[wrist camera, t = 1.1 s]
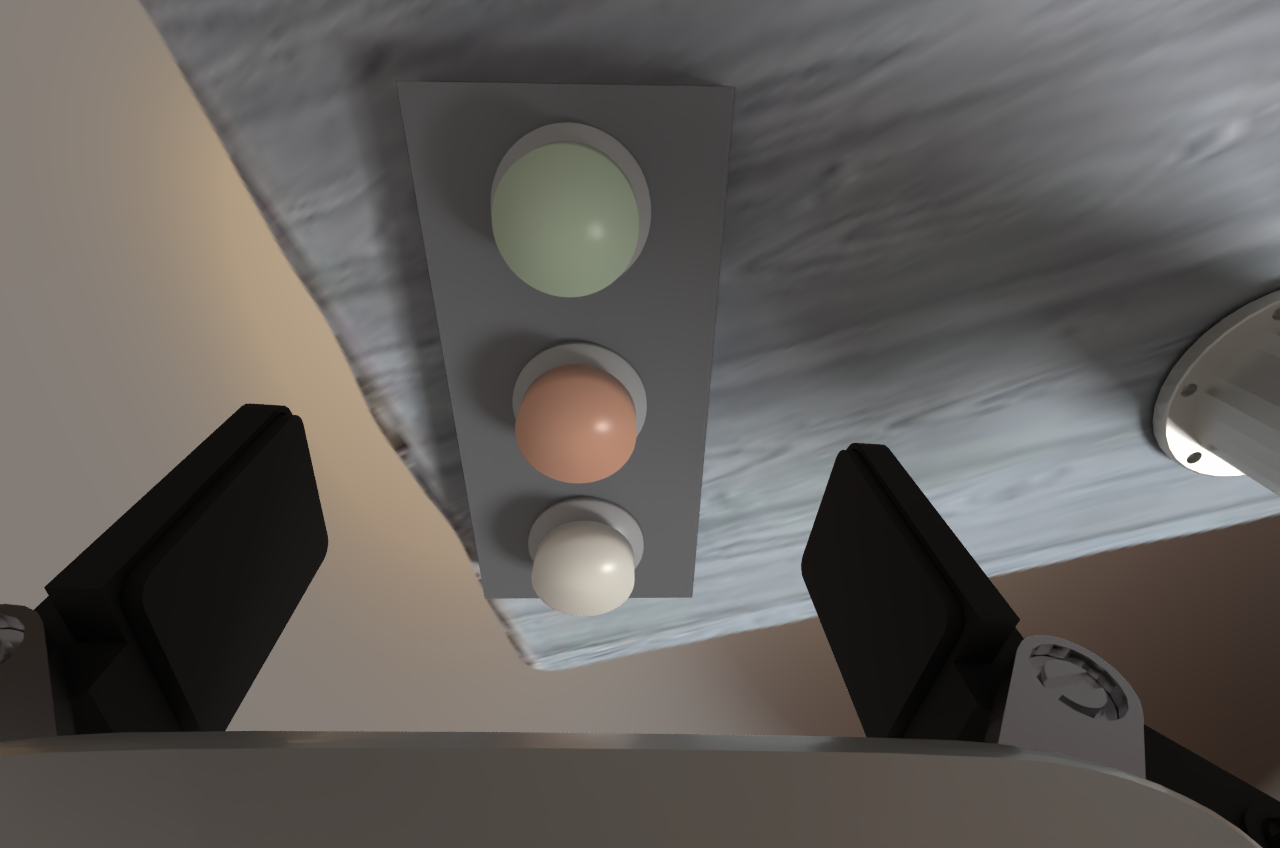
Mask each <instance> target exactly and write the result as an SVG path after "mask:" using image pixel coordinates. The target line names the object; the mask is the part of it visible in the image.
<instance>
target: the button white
mask: <svg viewBox="0 0 1280 848" xmlns="http://www.w3.org/2000/svg"><path fill="white" fill-rule="evenodd" d="M634 581H635V575H634V552H633V549H632V546H631V544H630V543H629V541H628V540H627V538H626V537H625V536H624V535H623V534H622V533H620V532H619V531H618V530H616V529H614V528H613V527H611V526H608V525H606V524H603V523H599V522H594V521H573V522H568V523H564V524H562V525H559V526H557V527H555V528H553V529H552V530H550V531H549V532H548V533H547V534H545V535H544V536H543V538H542V539H541V540H540V542H539V544H538V546H537V549H536V555H535V560H534V565H533V570H532V585H533V588H534V590H535V592H536V594H537V595H538V597H539V598H540V599H541V600H542V601H543V602H544V603H545V604H547V605H548V606H550V607H551V608H553V609H555V610H557V611H560V612H563V613H566V614H570V615H576V616H593V615H599V614H603V613H606V612H609V611H611V610H613V609H615V608H617V607H619V606H620V605H621V604H623V603H624V602H625V601H626V600H627V599H628V597H629V596H630V594H631V592H632V590H633V587H634Z"/></svg>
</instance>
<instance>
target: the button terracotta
mask: <svg viewBox="0 0 1280 848" xmlns="http://www.w3.org/2000/svg"><path fill="white" fill-rule="evenodd" d="M515 436H516V441H517V444H518V447H519V449H520V451H521V453H522V455H523V456H524V457H525V459H526V460H527V461H528V462H529V463H530V465H532V466H533V467H534V468H535V469H536V470H538V471H539V472H541V473H542V474H544V475H546V476H548V477H550V478H552V479H555V480H558V481H562V482H567V483H578V484H579V483H590V482H595V481H598V480H602V479H604V478H606V477H608V476H610V475H612V474H614V473H615V472H617V471H618V470H619V469H620V468H621V467H622V466H623V465H624V464H625V463H626V462H627V461H628V459H629V458H630V456H631V454H632V452H633V450H634V447H635V443H636V410H635V405H634V402H633V399H632V397H631V395H630V393H629V391H628V390H627V389H626V387H625V386H624V385H623V384H622V383H621V382H620V381H619V380H618V379H617V378H616V377H614V376H613V375H611V374H610V373H608V372H606V371H604V370H602V369H600V368H596V367H593V366H589V365H581V364H570V365H563V366H559V367H556V368H553V369H551V370H548V371H546V372H545V373H543V374H542V375H540V376H539V377H538V378H536V379H535V380H534V381H533V382H532V384H531V385H530V386H529V388H528V389H527V391H526V393H525V395H524V397H523V400H522V403H521V406H520V409H519V412H518V415H517V419H516V424H515Z"/></svg>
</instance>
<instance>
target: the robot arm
mask: <svg viewBox="0 0 1280 848" xmlns="http://www.w3.org/2000/svg"><path fill="white" fill-rule="evenodd" d="M1153 429H1154V436H1155V438H1156V440H1157V443H1158V445H1159V447H1160V448H1161V449H1162V450H1163V452H1164V453H1165V454H1166V455H1167V456H1168V457H1169V458H1171V459H1172V460H1174V461H1175V462H1176V463H1178V464H1179V465H1181V466H1182V467H1184V468H1186V469H1188V470H1191V471H1193V472H1195V473H1198V474H1203V475H1209V476H1238V475H1247V476H1248V477H1250V478H1252V479H1253V480H1255V481H1256V482H1258V483H1260V484H1261V485H1263V486H1264V487H1266V488H1267V489H1269V490H1271V491H1272V492H1274V493H1275V494H1277V495H1278V496H1280V290H1278V291H1275V292H1272V293H1270V294H1268V295H1266V296H1263V297H1261V298H1259V299H1257V300H1255V301H1253V302H1251V303H1248V304H1247V305H1245V306H1243V307H1242V308H1240V309H1238V310H1237V311H1235V312H1233V313H1232V314H1230V315H1229V316H1227V317H1225V318H1224V319H1222V320H1221V321H1220V322H1219V323H1217V324H1216V325H1215V326H1213V327H1212V328H1211V329H1210V330H1208V331H1207V332H1206V333H1204V334H1203V335H1202V336H1201V337H1200V338H1199V339H1198V340H1197V341H1196V342H1195V343H1194V344H1193V345H1192V346H1191V347H1190V348H1189V349H1188V350H1187V351H1186V352H1185V353H1184V355H1183V356H1182V357H1181V358H1180V360H1179V361H1178V362H1177V363H1176V365H1175V366H1174V367H1173V368H1172V370H1171V372H1170V373H1169V375H1168V377H1167V378H1166V380H1165V382H1164V384H1163V385H1162V387H1161V390H1160V392H1159V395H1158V398H1157V401H1156V403H1155V408H1154V414H1153ZM327 548H328V535H327V531H326V526H325V522H324V517H323V512H322V508H321V503H320V499H319V494H318V489H317V485H316V480H315V476H314V471H313V466H312V462H311V457H310V453H309V448H308V443H307V439H306V434H305V429H304V425H303V422H302V419H301V418H300V417H299V416H297V415H292V413H291V411H290V410H289V408H287V407H286V406H278V405H264V404H245V405H243V406H242V407H241V408H239V409H238V410H237V411H236V412H235V413H234V414H233V415H232V416H231V417H230V418H228V419H227V420H226V421H225V422H224V423H223V424H222V425H221V426H220V427H219V428H218V429H216V430H215V431H214V432H213V433H212V434H211V435H210V436H209V437H208V438H207V439H206V440H204V441H203V442H202V443H201V444H200V445H199V446H198V447H197V448H196V449H195V450H194V451H192V452H191V454H189V455H188V456H187V457H186V458H185V459H184V460H183V461H182V462H180V463H179V464H178V465H177V466H176V467H175V468H174V469H173V470H172V471H171V472H170V473H168V475H166V476H165V477H164V478H163V479H162V480H161V481H160V482H159V483H158V484H156V485H155V486H154V487H153V488H152V489H151V490H150V491H149V492H148V493H147V494H146V495H145V496H143V497H142V498H141V499H140V500H139V501H138V502H137V503H136V504H135V505H134V506H132V507H131V508H130V509H129V510H128V511H127V512H126V513H125V514H124V515H123V516H122V517H120V518H119V519H118V520H117V521H116V522H115V523H114V524H113V525H112V526H111V527H110V528H109V529H107V530H106V531H105V532H104V533H103V534H102V535H101V536H100V537H99V538H98V539H96V540H95V541H94V542H93V543H92V544H91V545H90V546H89V547H88V548H87V549H86V550H84V551H83V552H82V553H81V554H80V555H79V556H78V557H77V558H76V559H75V560H74V561H72V562H71V563H70V564H69V565H68V566H67V567H66V568H65V569H64V570H63V571H62V572H60V573H59V574H58V575H57V576H56V577H55V578H54V579H53V580H52V581H51V582H50V583H48V584H47V585H46V586H45V590H46V591H47V593H48V595H49V596H48V597H47V598H46V599H45V600H44V601H43V602H42V603H41V604H40V605H39V606H37V607H36V608H35V609H34V610H32V609H30V608H28V607H26V606H21V605H11V604H0V848H1280V802H1279V801H1277V800H1276V799H1274V798H1272V797H1270V796H1269V795H1267V794H1265V793H1263V792H1262V791H1260V790H1258V789H1256V788H1255V787H1253V786H1251V785H1249V784H1248V783H1246V782H1244V781H1242V780H1241V779H1239V778H1237V777H1235V776H1233V775H1232V774H1230V773H1228V772H1227V771H1225V770H1223V769H1221V768H1219V767H1218V766H1216V765H1214V764H1212V763H1211V762H1209V761H1207V760H1205V759H1204V758H1202V757H1200V756H1199V755H1197V754H1195V753H1193V752H1191V751H1190V750H1188V749H1186V748H1184V747H1183V746H1181V745H1179V744H1177V743H1176V742H1174V741H1172V740H1170V739H1169V738H1167V737H1165V736H1163V735H1162V734H1160V733H1158V732H1156V731H1155V730H1153V729H1151V728H1149V727H1148V726H1146V725H1144V724H1143V711H1142V708H1141V704H1140V700H1139V698H1138V697H1137V696H1136V694H1135V692H1134V691H1133V689H1132V687H1131V686H1130V684H1129V683H1128V682H1127V681H1126V680H1125V679H1124V678H1123V677H1122V676H1121V675H1120V674H1119V673H1118V672H1117V671H1116V670H1115V669H1114V668H1113V667H1112V666H1110V665H1109V664H1108V663H1106V662H1105V661H1104V660H1102V659H1101V658H1100V657H1099V656H1097V655H1095V654H1093V653H1092V652H1090V651H1088V650H1086V649H1085V648H1083V647H1081V646H1080V645H1077V644H1074V643H1072V642H1069V641H1067V640H1064V639H1062V638H1057V637H1052V636H1047V635H1037V636H1030V637H1028V638H1026V639H1024V638H1023V637H1022V636H1021V634H1020V633H1019V632H1018V630H1017V629H1016V627H1015V626H1016V625H1017V623H1018V622H1019V620H1020V619H1019V617H1018V616H1017V615H1016V613H1015V612H1014V611H1013V610H1012V608H1011V607H1010V606H1009V604H1008V603H1007V602H1006V600H1005V599H1004V598H1003V597H1002V595H1001V594H1000V593H999V591H998V590H997V589H996V588H995V586H994V585H993V584H992V582H991V581H990V580H989V578H988V577H987V576H986V574H985V573H984V572H983V571H982V569H981V568H980V567H979V565H978V564H977V563H976V561H975V560H974V559H973V557H972V556H971V555H970V554H969V552H968V551H967V550H966V548H965V547H964V546H963V544H962V543H961V542H960V541H959V539H958V538H957V537H956V535H955V534H954V533H953V531H952V530H951V529H950V528H949V526H948V525H947V524H946V522H945V521H944V520H943V518H942V517H941V516H940V515H939V513H938V512H937V511H936V509H935V508H934V507H933V505H932V504H931V503H930V501H929V500H928V499H927V498H926V496H925V495H924V494H923V492H922V491H921V490H920V488H919V487H918V486H917V485H916V483H915V482H914V481H913V479H912V478H911V477H910V475H909V474H908V473H907V472H906V470H905V469H904V468H903V466H902V465H901V464H900V462H899V461H898V460H897V459H896V457H895V456H894V455H893V453H892V452H891V451H890V449H889V448H888V447H887V446H885V445H880V444H864V443H853V444H850V446H849V447H848V448H847V450H842V451H840V452H839V453H838V455H837V457H836V460H835V463H834V466H833V469H832V472H831V475H830V478H829V481H828V484H827V487H826V490H825V493H824V495H823V498H822V501H821V504H820V507H819V510H818V513H817V516H816V519H815V522H814V525H813V528H812V531H811V534H810V537H809V540H808V542H807V545H806V548H805V551H804V554H803V557H802V563H801V570H802V576H803V579H804V581H805V584H806V586H807V589H808V592H809V594H810V597H811V599H812V602H813V604H814V607H815V609H816V612H817V614H818V617H819V619H820V622H821V624H822V627H823V629H824V631H825V634H826V637H827V639H828V642H829V644H830V647H831V649H832V652H833V654H834V657H835V659H836V662H837V664H838V667H839V669H840V671H841V674H842V677H843V679H844V681H845V684H846V687H847V689H848V691H849V694H850V697H851V699H852V702H853V704H854V707H855V709H856V711H857V714H858V717H859V719H860V721H861V724H862V726H863V729H864V732H865V734H866V737H829V736H828V737H827V736H765V735H764V736H761V735H760V736H759V735H700V734H694V735H693V734H619V733H612V734H611V733H610V734H609V733H519V732H518V733H516V732H515V733H514V732H511V733H510V732H509V733H508V732H364V731H360V732H359V731H355V732H354V731H350V732H349V731H225V730H226V728H227V727H228V725H229V723H230V722H231V719H232V718H233V716H234V714H235V713H236V711H237V709H238V708H239V706H240V704H241V702H242V701H243V699H244V697H245V695H246V694H247V692H248V690H249V689H250V687H251V685H252V683H253V682H254V680H255V678H256V676H257V675H258V673H259V671H260V669H261V668H262V666H263V664H264V662H265V661H266V659H267V657H268V656H269V654H270V652H271V650H272V649H273V647H274V645H275V643H276V642H277V640H278V638H279V637H280V635H281V633H282V631H283V630H284V628H285V626H286V624H287V623H288V621H289V619H290V617H291V616H292V614H293V612H294V610H295V609H296V607H297V605H298V604H299V602H300V600H301V598H302V596H303V595H304V593H305V591H306V590H307V588H308V586H309V584H310V583H311V581H312V579H313V577H314V576H315V574H316V572H317V570H318V569H319V567H320V565H321V563H322V562H323V560H324V558H325V556H326V552H327Z"/></svg>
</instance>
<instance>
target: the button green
mask: <svg viewBox="0 0 1280 848" xmlns="http://www.w3.org/2000/svg"><path fill="white" fill-rule="evenodd" d="M491 216H492V229H493V234H494V238H495V241H496V244H497V247H498V249H499V251H500V254H501V255H502V257H503V259H504V260H505V262H506V263H507V265H508V266H509V267H510V269H511V270H512V271H513V272H514V273H515V274H516V275H517V276H518V277H519V278H520V279H521V280H523V281H524V282H525V283H527V284H528V285H530V286H531V287H533V288H535V289H537V290H539V291H541V292H544V293H547V294H550V295H554V296H559V297H581V296H586V295H590V294H593V293H596V292H598V291H600V290H602V289H604V288H605V287H607V286H609V285H610V284H611V283H613V282H614V281H615V280H616V279H617V278H618V277H619V276H620V275H621V274H622V273H623V272H624V270H625V269H626V267H627V266H628V264H629V263H630V261H631V259H632V257H633V255H634V252H635V249H636V246H637V241H638V236H639V215H638V206H637V200H636V197H635V193H634V190H633V188H632V186H631V183H630V181H629V180H628V178H627V176H626V175H625V173H624V172H623V170H622V169H621V168H620V167H619V165H618V164H617V163H616V162H615V161H614V160H612V159H611V158H610V157H609V156H608V155H606V154H605V153H603V152H602V151H600V150H598V149H596V148H595V147H592V146H589V145H587V144H584V143H579V142H574V141H556V142H551V143H547V144H544V145H541V146H539V147H537V148H535V149H533V150H531V151H529V152H528V153H527V154H525V155H524V156H522V157H521V158H520V159H519V160H517V161H516V162H515V163H514V164H513V165H512V166H511V167H510V168H509V169H508V170H507V172H506V173H505V174H504V176H503V177H502V179H501V181H500V183H499V185H498V187H497V190H496V192H495V195H494V200H493V204H492V215H491Z"/></svg>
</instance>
